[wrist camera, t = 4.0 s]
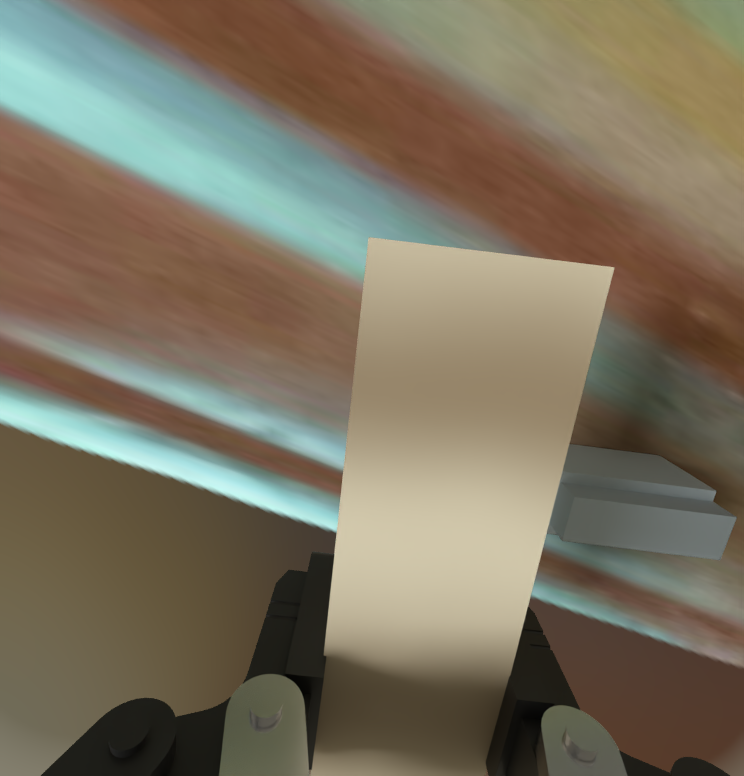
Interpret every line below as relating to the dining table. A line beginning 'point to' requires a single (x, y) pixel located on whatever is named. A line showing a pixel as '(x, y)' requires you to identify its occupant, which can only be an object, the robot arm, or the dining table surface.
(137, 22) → the dining table surface
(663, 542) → the grey stepped block
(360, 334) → the bar
